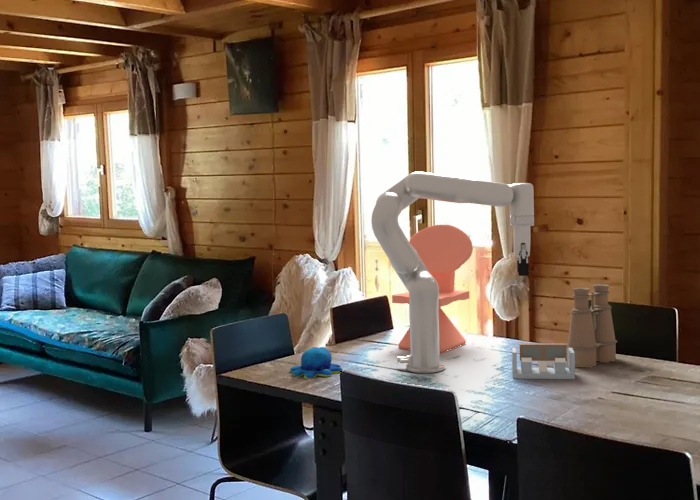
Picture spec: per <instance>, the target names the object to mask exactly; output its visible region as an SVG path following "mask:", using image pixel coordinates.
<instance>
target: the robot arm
mask: <svg viewBox="0 0 700 500" xmlns="http://www.w3.org/2000/svg"><path fill="white" fill-rule="evenodd" d="M534 190H535V189H534V185H533V184H532V183H529V182H518V183H512V184H507V183H503V182H497V181H496V182H495V181H488V180H480V179H474V178H467V177H464V176H457V175H451V174H443V173H442V174H440V173H432V172H425V171H414V172H411V173H409V174H408V175H407V176H405V177H404V178H402V179H401V180H400V181H398V182H397V183H396V184H394V185H393V186H391V187H390V188H389V189H387V190H386V191H384V192H383V193H382V194H380V195H379V196H378V197H377V200H376V202H375V205H374V208H373V210H372V214H371V229H372V231H373V234H374V237H375V238H376V240H377V242H378V243H379V245H380V247H381V248H382V250H383V252H384V253H385V255H386V256H387V258H388V259H389V264H390V265H391V267H392V268H393V270H394V271H395V273H396V275H397V276H398V278H399V279H400V280H401V282H402V284H403V286H404V287H405V288H406V290H407V292H409V304H408V307H409V308H408V309H409V311H408V312H409V313H408V315H409V316H408V317H409V320H408V321H409V328H410V348H411V350H410V354H409V355H406V356H402V355H401V356H400V355H398V356H396V357H397V358H396V359H397V363H400V364H406V365H405V366H406V367H405V369H406V370H407V371H408V372H412V373H417V374H431V373H437V372H442V371H444V370H445V368H446V366H445V364H444V363H443V362H441V360H440V359H441V357H440V354H441V353H440V348H439V287H438V283H437V281H436V279H435V278H434V277H433V276H432V275H431V274H430V272H429V271H428V269H427V268H426V266H425V265H424V263H423V262H422V260H421V258H420V257H419V255H418V253H417V251H416V250H415V249H414V248H413V247H412V245H411V244H410V242H409V241H410V240H409V239H408V238H407V237H406V235H405V233H404V231H403V229H402V228H401V226H400V223H399V216H400V214H401V213H402V211H403V210H405V209H407V208H408V207H409V206H410V205H412V204H413V203H415V202H416V201H418V200H419V199H425V200H432V201H438V202H439V201H441V202H445V203H446V202H449V203H454V204H455V203H456V204H475V205H482V206H491V207H498V208H505V207H507V206H509V216H510V217H509V221H510V222H509V224H510V227H513V232H512V234H513V238H512V239H513V240H512V241H513V243H512V244H513V256H514V257H515V258H516V257H517V260H516V261H517V263H516V266H517V267H516V269H517V270H516V271H517V273H518V276H519V277H527V276H529V275H530V271H529V270H530V266H529V259H528V258H529V257H530V255H531V227H533V226H535V208H534V207H535V205H534V203H535V200H534V197H535V195H534V194H535V193H534Z"/></svg>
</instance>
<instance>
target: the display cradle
mask: <svg viewBox="0 0 700 500" xmlns="http://www.w3.org/2000/svg"><path fill="white" fill-rule="evenodd" d="M521 360H522V361H520V367H519V366H518V367H517V365H518V361H517V348H516V347H511V370H512V372H511V373H512V379H525V380H526V379H530V380H531V379H533V380H534V379H538V380H543V379H544V380H575V379H576V370H575V369H576V367H575V353H574V351H573V349H572V348H568V357H567V362H568V365H567V366H568V367H566V361H565V358H555V361H553V367H548V361H537V362H538V363H537V364H538V367H533V366H532V364H533V362H532V358H521Z"/></svg>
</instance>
